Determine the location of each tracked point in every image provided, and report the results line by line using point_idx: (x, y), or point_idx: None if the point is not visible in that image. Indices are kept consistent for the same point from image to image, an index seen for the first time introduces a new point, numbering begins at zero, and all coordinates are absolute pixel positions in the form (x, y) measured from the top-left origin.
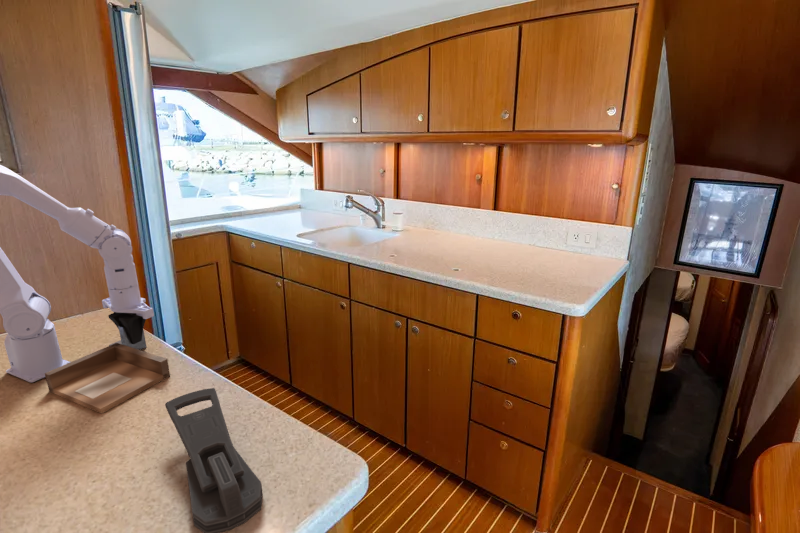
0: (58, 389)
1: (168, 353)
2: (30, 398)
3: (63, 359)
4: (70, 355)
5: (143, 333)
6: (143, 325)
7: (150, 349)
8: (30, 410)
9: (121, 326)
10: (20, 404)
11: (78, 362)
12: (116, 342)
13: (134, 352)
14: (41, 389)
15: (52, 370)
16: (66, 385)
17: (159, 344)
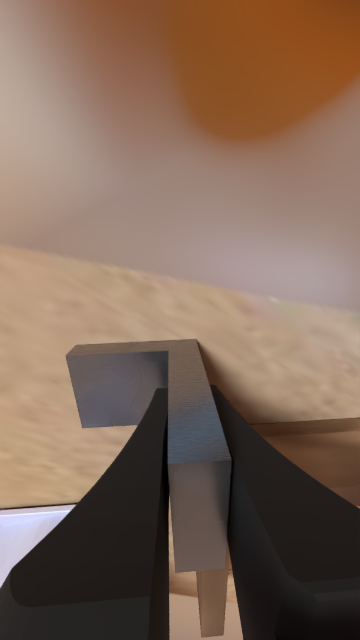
0: (229, 567)
1: (321, 329)
2: (187, 574)
3: (56, 512)
4: (26, 481)
5: (206, 380)
6: (273, 449)
7: (226, 342)
8: (232, 582)
9: (199, 565)
10: (193, 584)
11: (225, 593)
12: (84, 404)
13: (354, 503)
14: (169, 558)
15: (204, 628)
16: (229, 557)
17: (221, 296)
